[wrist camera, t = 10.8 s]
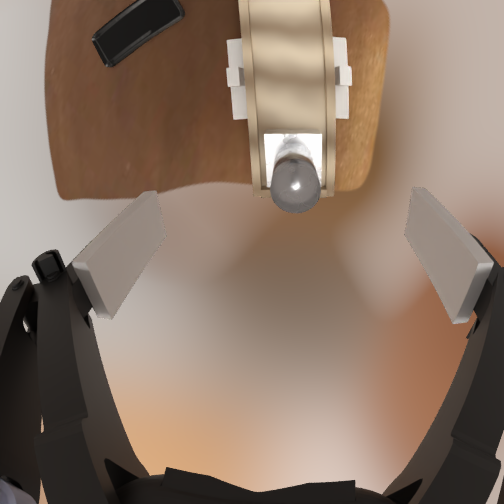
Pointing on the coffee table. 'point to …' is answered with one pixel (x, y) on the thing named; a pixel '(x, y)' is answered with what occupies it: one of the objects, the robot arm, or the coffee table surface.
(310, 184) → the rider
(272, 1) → the beam
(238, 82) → the stand
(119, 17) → the phone
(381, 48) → the coffee table surface
